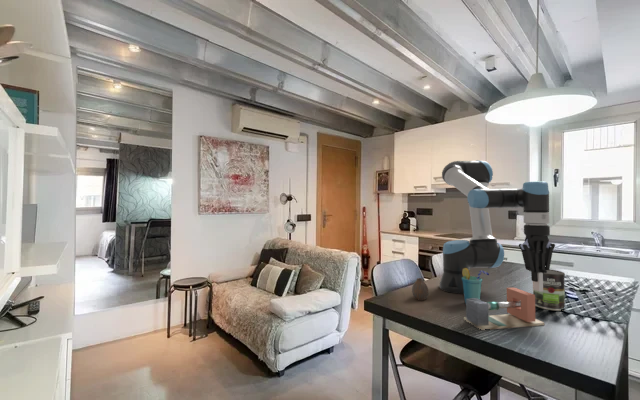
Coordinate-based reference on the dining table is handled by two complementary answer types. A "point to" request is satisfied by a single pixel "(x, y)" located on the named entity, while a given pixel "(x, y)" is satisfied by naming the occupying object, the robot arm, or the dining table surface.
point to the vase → (420, 289)
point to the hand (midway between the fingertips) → (538, 290)
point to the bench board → (506, 322)
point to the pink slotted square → (522, 304)
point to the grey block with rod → (484, 310)
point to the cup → (471, 284)
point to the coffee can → (551, 291)
